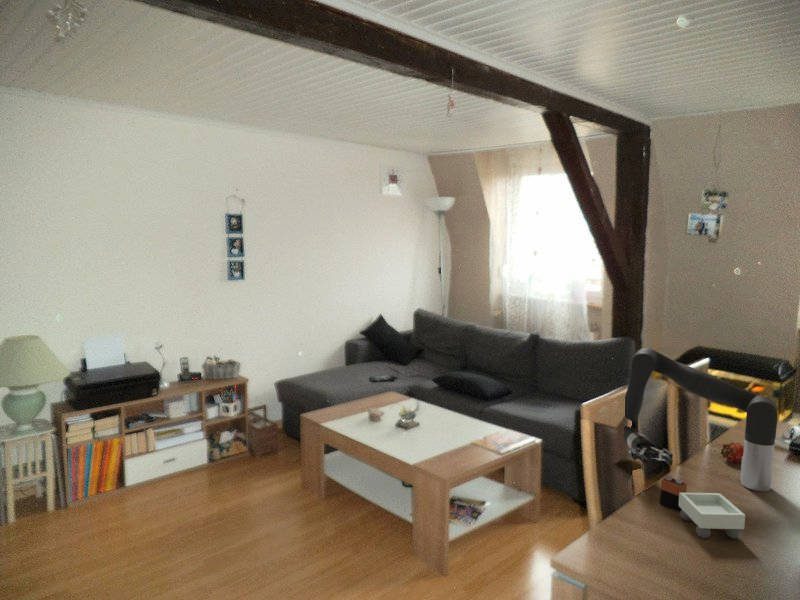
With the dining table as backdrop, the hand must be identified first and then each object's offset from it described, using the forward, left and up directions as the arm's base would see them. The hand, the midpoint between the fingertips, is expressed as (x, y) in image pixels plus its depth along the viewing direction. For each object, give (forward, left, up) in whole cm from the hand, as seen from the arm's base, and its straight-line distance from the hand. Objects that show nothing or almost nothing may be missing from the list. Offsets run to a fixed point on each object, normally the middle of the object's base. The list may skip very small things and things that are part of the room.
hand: (658, 462), depth 198 cm
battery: (+11, 0, -11) cm, 16 cm away
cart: (+25, +5, -11) cm, 28 cm away
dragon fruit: (-29, +43, -11) cm, 53 cm away
